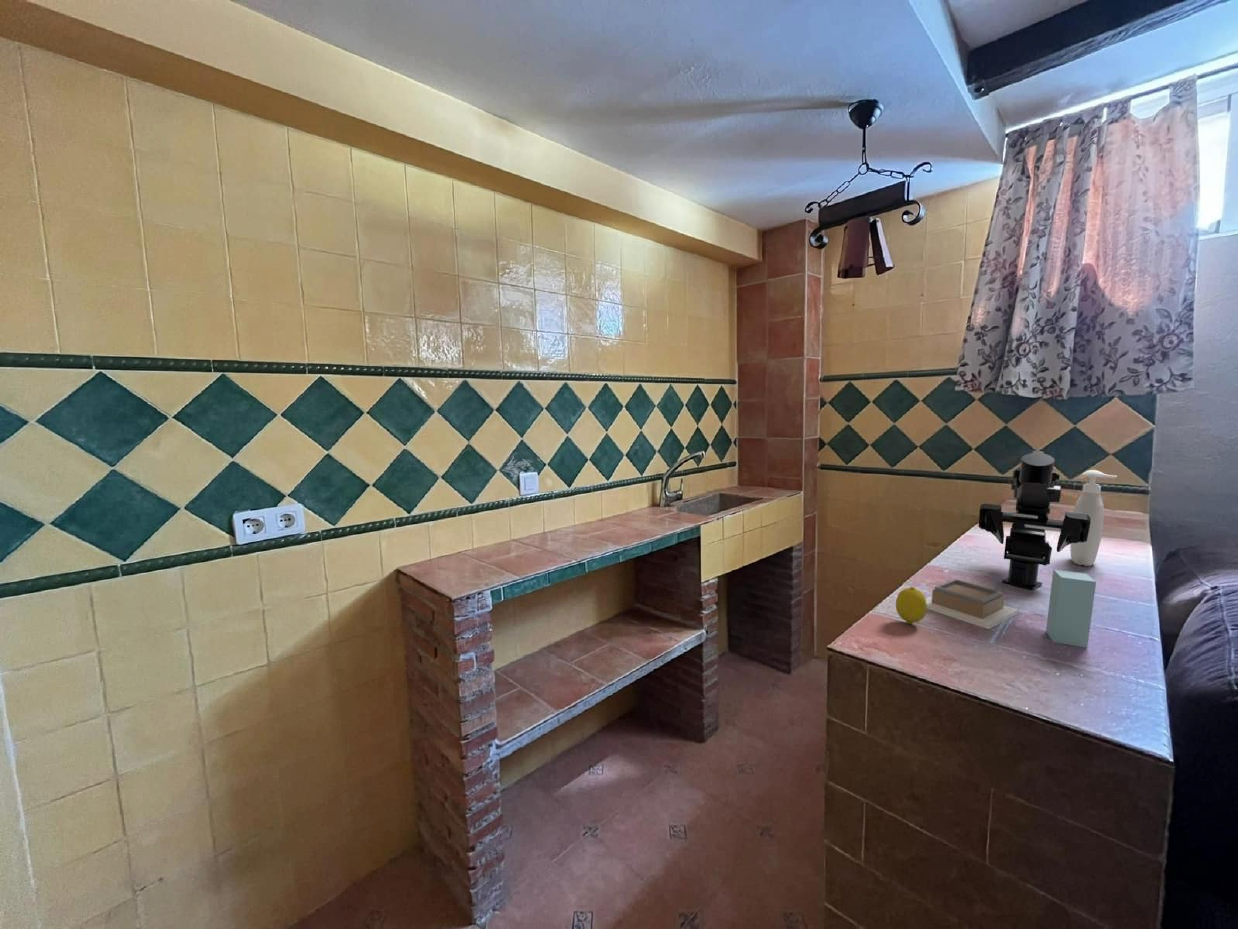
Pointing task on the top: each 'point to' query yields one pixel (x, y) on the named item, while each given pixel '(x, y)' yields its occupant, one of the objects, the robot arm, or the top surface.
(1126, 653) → the top surface
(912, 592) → the lemon
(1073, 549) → the soap bottle
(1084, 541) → the robot arm
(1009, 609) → the build base
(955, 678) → the top surface
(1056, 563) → the top surface
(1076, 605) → the pillar
